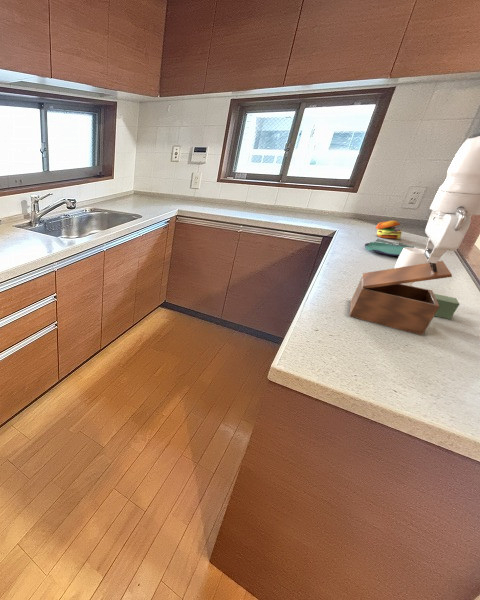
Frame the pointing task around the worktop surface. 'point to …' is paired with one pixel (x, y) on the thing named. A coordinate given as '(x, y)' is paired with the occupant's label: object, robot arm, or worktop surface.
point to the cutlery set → (386, 247)
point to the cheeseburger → (388, 230)
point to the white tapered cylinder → (410, 259)
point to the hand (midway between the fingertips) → (429, 258)
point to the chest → (395, 306)
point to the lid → (406, 274)
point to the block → (446, 306)
